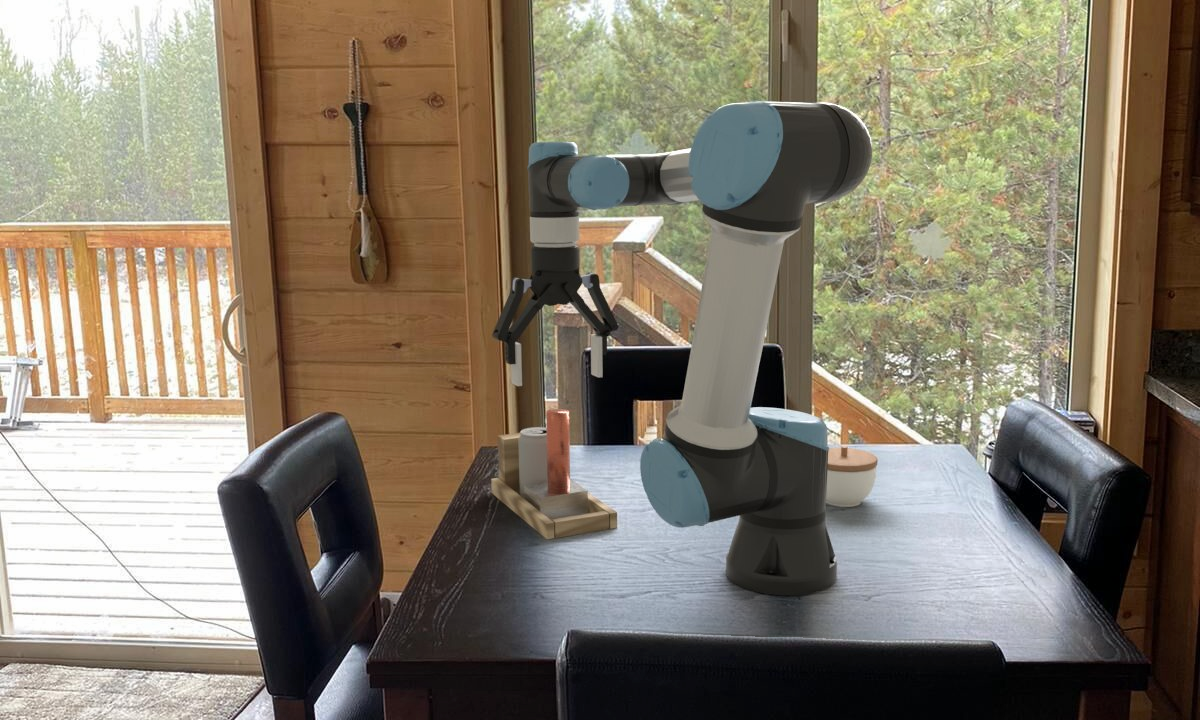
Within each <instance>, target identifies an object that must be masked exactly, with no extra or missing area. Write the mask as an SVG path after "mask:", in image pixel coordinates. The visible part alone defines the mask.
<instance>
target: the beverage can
mask: <svg viewBox="0 0 1200 720" xmlns="http://www.w3.org/2000/svg"><path fill="white" fill-rule="evenodd" d="M519 433H520V434H521V435H520V437H519V439H518V447H519V482H520V496H521V497H522V498H524V486H525V485H532V484H538V483H545V482H548V480H547V426H546V427H543V426H537V427H536V426H535V427H534V426H532V427H527V428H523V429H521V430H520V432H519Z"/></svg>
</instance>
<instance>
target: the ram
mask: <svg viewBox="0 0 1200 720" xmlns="http://www.w3.org/2000/svg"><path fill="white" fill-rule="evenodd" d="M545 419H546V421H545V422H546V423H545V424H546V428H547V480H548V482H545V483H538V484H532V485H525V486H524V499H525V500H526V501H527V502H529V503H530V504H531V505H533V506H534V507H535V508H536V509H538V510H539V511H540V512H541V513H543V514H544V515H545V516H546V517H548V518H549V519H550V520H551V521H552V519H558V518H565V517H571V516H577V515H583V514H589V513H588V493H589V492H588V490H587V489H586V488H585V487H583V486H582V485H580V484H579V483H577V482H576V481H574V480H573V479H571V464H570V463H571V458H570V457H571V454H570V453H571V450H570V445H571V444H570V410H568V409H565V408H551V409H548V410H546V411H545Z"/></svg>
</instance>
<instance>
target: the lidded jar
mask: <svg viewBox="0 0 1200 720" xmlns="http://www.w3.org/2000/svg"><path fill="white" fill-rule="evenodd" d="M878 461H879V460H878V458H877V455H875V454H874V453H872V452H870V451H866V450H863V449H856V448H850V447H848V446H847V445H841V447H829V451H828V468H827V490H826V505H829V506H832V507H836V508H837V507H839V508H851V507H852V508H853V507H857V506H860V505H861V504H862V502H863V501H864V500H865V499H866V498H867V497H869V495H870V494H871V492H872V490H873V489H874V485H875V482H876V477H877V465H878Z"/></svg>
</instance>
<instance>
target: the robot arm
mask: <svg viewBox="0 0 1200 720" xmlns="http://www.w3.org/2000/svg"><path fill="white" fill-rule="evenodd" d="M578 149H579V147H578V145H577V143H575V142H574V141H554V142H553V141H552V142H551V141H547V142H546V141H545V142H543V141H542V142H538V141H536V142H533V143H531V145H529V148H528V165H527V173H528V175H527V176H528V179H527V181H528V197H529V198H528V203H529V234H530V235H529V237H530V240H529V241H530V242H531V244H532V243H533V244H534V245H532V246H531V248H530V249H529V251H530V272H531V274H530V278H529V279H528V278H527V279H526V278H525V279H524V278H520V277H512V278H511V281H510V292H509V294H508V296H507V299H506V301H505V303H504V306H503V307H502V311H501V313H500V315H499V318H498V320H497V322H496V324H495V326H494V329H493V331H492V335H491V336H492V338H493V339H495V340H497V341H500V342H503V343H504V360H505V362H506V364H508V365H510V378H511V380H510V381H511V384H512V385H515V386H516V387H522V386H523V370H522V368H523V367H522V360H523V359H522V343H520V342H518V340H519V339H520V337H522V334H523V333H524V331H525V330H526V328H527V327H528V326H529V325H530V323H531V322H532V321H533V319H534V318H535V316H536V315H537V314H538V312H539V311H540V310H542V309H543V307H545V306H548V307H552V306H553V307H554V306H556V305H561V306H564V305H568V304H571V305H572V307H574V308H575V310H576V311H577V312H578V313H579V314H580V316H581V317H582V318H583V319H584V320H585V322H586V323H587V324H588V325H589V326H590V327H591V329H592V330H593V331H594V332H595V333H594V334H593V333H592V334H590V371H591V372H590V374H591V375H592V376H594V377H596V378H603V372H604V371H603V356H606V355H607V353H608V337H609V336H610V335H611V332H614V331H617V330H619V324H618V322H617V319H616V318H615V315H614V313H613V312H612V310H611V307H610V305H609V303H608V301H607V299H606V296H605V295H604V293H603V291H602V289H601V285H600V284H601V283H600V276H599V275H598V274H596V273H593V272H587V273H586V274H583V275H581V274H580V265H581V263H580V262H581V259H580V256H581V255H580V247H579V245H577V243H578V242H579V241H580V211H579V209H580V208H584V209H588V210H591V211H598V210H608V209H613V208H620V207H621V208H622V207H637V206H665V205H666V206H667V205H668V206H673V205H675V206H677V205H683V204H688V203H691V202H695V201H700V202H701V204H702V206H701V207H702V209H701V214H702V215H703V217H704V218H705V219H706V221H707V222H708V224H709V225H710V226H711V232H710V233H711V234H710V238H709V243H708V248H707V249H708V250H707V254H706V260H705V267H704V273H703V278H702V285H701V289H700V295H699V301H698V307H697V312H696V317H695V323H694V324H695V325H694V330H693V335H692V341H691V342H692V343H691V347H690V354H689V357H688V358H689V359H688V365H687V368H686V369H687V370H686V375H685V382H684V388H683V392H682V398H681V404H680V405H679V406H677V407H675V408H673V409H672V410H671V411H669V413H668V414H667V416H666V420H665V427H664V433H663V436H662V438H657V437H656V438H654V439H652V441H651V440H650V441H649V443H647V444H646V445H645V446H644V448H643V449H642V452H641V456H640V461H639V462H640V463H639V468H640V471H639V472H640V477H641V482H642V486H643V489H644V492H645V494H646V496H647V499H648V502H649V503H650V505H651V507H652V509H653V510H654V511H655V513H656V514H657V515H658V516H659V518H660V519H661V520H663V521H664V522H665V523H667V524H668V525H670V526H672V527H675V528H681V529H683V528H690V527H695V526H697V527H703V526H705V525H707V524H709V523H713V522H714V523H715V522H718V521H722V520H723V521H724V520H726V519H730V518H734V517H739V518H738V519H739V520H738V523H737V525H736V528H735V532H734V534H733V537H732V540H731V542H730V546H729V550H728V551H727V553H726V558H725V575H726V577H727V578H728V579H729V580H730V581H731V582H732V583H734V584H736V585H738V586H739V587H741V588H743V589H746V590H749V591H753V592H757V593H762V594H765V595H766V594H767V595H775V596H801V595H810V594H814V593H819V592H821V591H824V590H827V589H828V588H830V587H831V586H833V585H834V584H835V583H836V581H837V576H838V575H837V572H838V571H837V570H838V569H837V568H838V563H837V557H836V555H835V552H834V549H833V545H832V541H831V539H830V538H831V537H830V535H829V531H828V528H827V525H826V517H827V515H826V512H827V508H826V507H827V506H826V505H827V503H826V490H827V468H828V451H829V448H830V447H829V446H828V445H829V444H828V443H829V442H828V440H829V439H828V438H829V437H828V427H827V424H826V423H825V421H823V420H822V419H821V418H820V417H818V416H815V415H812V414H810V413H807V412H804V411H803V412H802V411H798V410H793V409H785V408H779V407H778V408H777V407H766V406H765V407H763V406H758V407H757V406H756V407H752V402H753V397H754V392H755V387H756V382H757V377H758V373H759V366H760V362H761V357H762V352H763V347H764V344H765V343H764V342H765V338H766V333H767V327H768V324H769V318H770V313H771V307H772V303H773V299H774V293H775V288H776V283H777V279H778V273H779V268H780V263H781V260H782V254H783V249H784V248H783V247H784V244H785V241H786V239H788V238H790V237H791V236H792V235H795V233H797V232H799V231H800V230H801V227H802V226H801V225H802V222H803V215H804V213H805V212H804V211H805V207H806V205H807V204H819V203H829V202H833V201H836V200H840V199H842V198H844V197H846V196H847V195H850V194H851V193H852V192H854V191H855V190H856V189H857V188H858V187H859V186H860V185H861V184H862V182H863V181H864V180H865V178H866V177H867V175H868V172H869V171H870V168H871V165H872V159H873V143H872V138H871V135H870V133H869V130H868V129H867V127H866V125H865V124H864V122H863V121H862V120H861V118H860V117H859V116H858V115H856V114H855V113H854V112H852V111H851V110H850V109H847V107H844V106H841V105H837V104H835V103H831V102H791V101H790V102H789V101H783V102H782V101H760V100H757V99H755V100H749V101H746V102H736V103H733V102H732V103H728V104H725V105H722V106H720V107H718V108H717V109H716V110H715V111H713V112H712V113H711V114H709V115H708V116H707V117H706V118H705V119H704V120H703V122H702V123H701V124H700V126H699V127H698V130H697V131H696V133H695V135H694V137H693V140H692V143H691V147H690V148H686V149H679V150H674V151H667V152H662V153H653V154H652V153H651V154H649V153H648V154H587V155H586V154H585V155H579V150H578ZM582 285H583V286H584V288H586V290H587V291H588V293H589V296H590V298H591V299H592V302H593V303H594V306H595V308H596V310H597V312H598V314H599V317H600V318H601V320H602V321H601V320H600V319H599V317H598V316H597V315H596V314H595V312H593V310H592V309H591V308H590V307H589V306H588V305H587V303H586V302H585V300H584V299H583V297H582V296H581V295H580V293H578V291H579V289H580V288H581V287H582ZM528 288H529V289H530V290H531V291H532V295H531V296H530V298H529V299H528V300H527V304H525V306H524V308H523V309H522V311H520V313H519V315H518V316H517V317H516V319H514V318H515V315H516V314H517V310H518V309H519V307H520V304H521V301H522V300H523V296H524V294H525V293H527V290H528ZM513 320H514V322H513Z"/></svg>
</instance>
